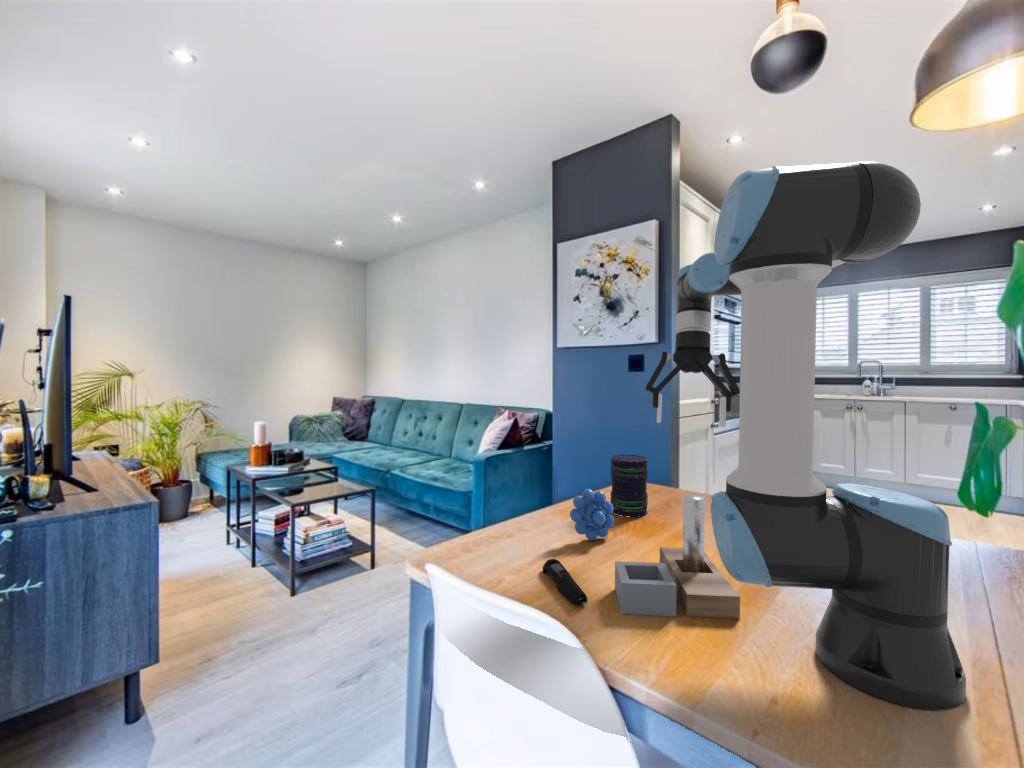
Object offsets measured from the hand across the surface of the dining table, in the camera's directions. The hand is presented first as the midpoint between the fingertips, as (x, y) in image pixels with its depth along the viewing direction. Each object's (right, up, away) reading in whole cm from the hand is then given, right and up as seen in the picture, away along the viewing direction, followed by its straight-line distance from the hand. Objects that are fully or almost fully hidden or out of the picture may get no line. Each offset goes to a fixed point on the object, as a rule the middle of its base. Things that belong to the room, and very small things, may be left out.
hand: (690, 424), depth 106 cm
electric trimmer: (-31, -28, -22) cm, 47 cm away
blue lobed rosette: (-22, -27, 0) cm, 34 cm away
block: (-18, -27, -27) cm, 43 cm away
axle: (-8, -26, -22) cm, 35 cm away
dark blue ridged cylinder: (-8, -26, +22) cm, 35 cm away
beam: (-8, -27, -22) cm, 36 cm away
